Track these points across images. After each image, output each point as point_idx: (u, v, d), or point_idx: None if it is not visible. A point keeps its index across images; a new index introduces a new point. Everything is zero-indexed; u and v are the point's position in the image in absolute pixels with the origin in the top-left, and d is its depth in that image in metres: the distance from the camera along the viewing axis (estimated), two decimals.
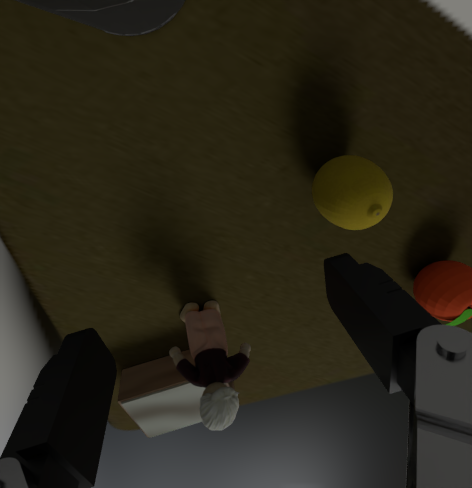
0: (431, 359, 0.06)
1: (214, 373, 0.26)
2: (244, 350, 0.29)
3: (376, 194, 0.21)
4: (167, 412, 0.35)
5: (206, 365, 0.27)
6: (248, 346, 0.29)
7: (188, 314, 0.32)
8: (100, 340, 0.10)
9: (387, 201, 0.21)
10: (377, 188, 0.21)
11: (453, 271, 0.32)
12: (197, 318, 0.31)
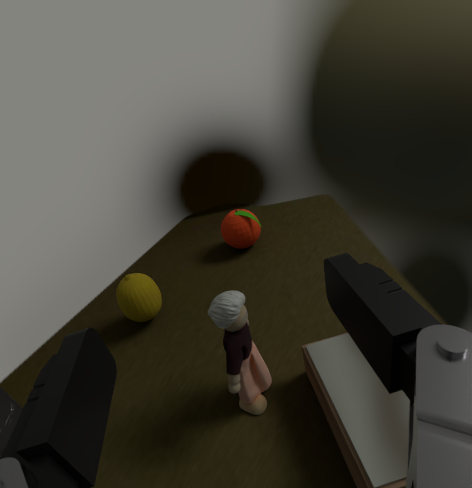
0: (431, 359, 0.06)
1: None
2: None
3: None
4: (398, 409, 0.22)
5: None
6: None
7: (240, 398, 0.28)
8: (100, 340, 0.10)
9: None
10: None
11: None
12: None
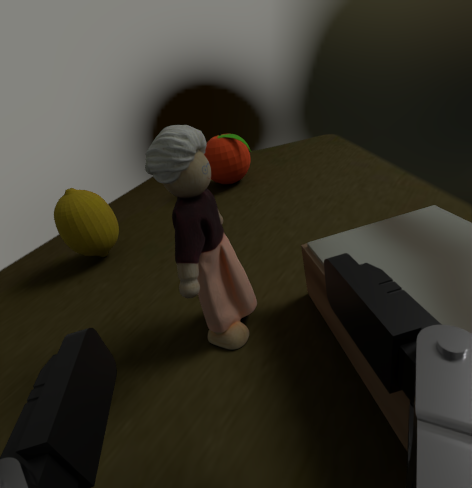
0: (431, 359, 0.06)
1: None
2: None
3: (61, 197, 0.30)
4: None
5: None
6: None
7: (207, 325, 0.18)
8: (100, 340, 0.10)
9: None
10: None
11: None
12: None
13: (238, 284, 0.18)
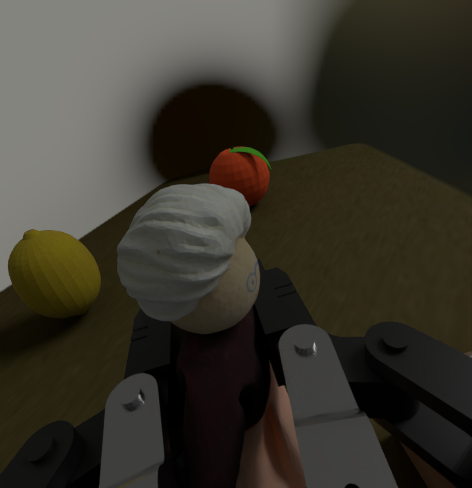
0: (293, 361, 0.07)
1: None
2: None
3: (19, 241, 0.21)
4: None
5: None
6: None
7: None
8: None
9: None
10: None
11: (210, 183, 0.34)
12: None
13: (293, 451, 0.10)
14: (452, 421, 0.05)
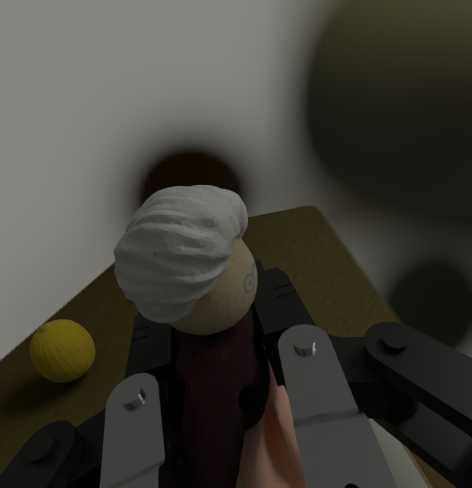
0: (293, 361, 0.07)
1: None
2: None
3: (37, 331, 0.30)
4: None
5: None
6: None
7: None
8: None
9: None
10: (36, 332, 0.30)
11: None
12: None
13: (294, 451, 0.10)
14: (451, 421, 0.05)
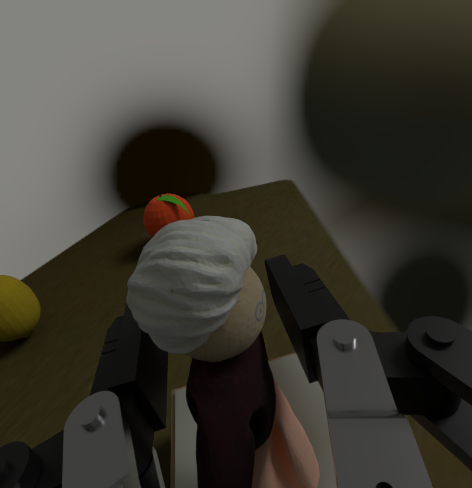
0: (331, 355, 0.07)
1: None
2: None
3: None
4: None
5: None
6: None
7: None
8: None
9: None
10: None
11: None
12: None
13: (298, 464, 0.10)
14: None
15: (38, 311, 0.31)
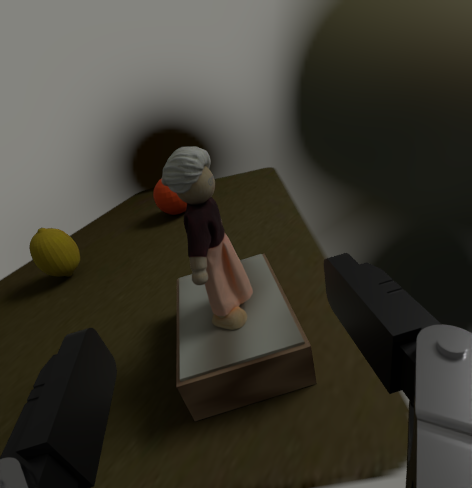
0: (431, 359, 0.06)
1: None
2: None
3: (35, 234, 0.40)
4: None
5: None
6: None
7: (212, 310, 0.22)
8: (100, 340, 0.10)
9: None
10: None
11: (154, 199, 0.53)
12: None
13: (237, 275, 0.22)
14: None
15: (79, 256, 0.43)
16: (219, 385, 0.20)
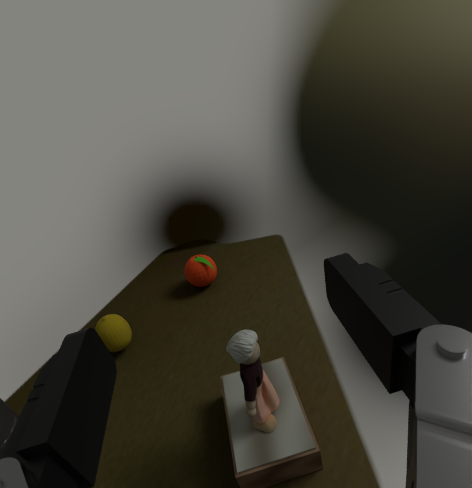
0: (431, 359, 0.06)
1: (240, 362, 0.31)
2: None
3: (99, 320, 0.51)
4: None
5: None
6: None
7: (254, 418, 0.33)
8: (100, 340, 0.10)
9: None
10: (98, 321, 0.52)
11: (185, 274, 0.64)
12: None
13: (270, 396, 0.33)
14: None
15: None
16: (261, 475, 0.31)
